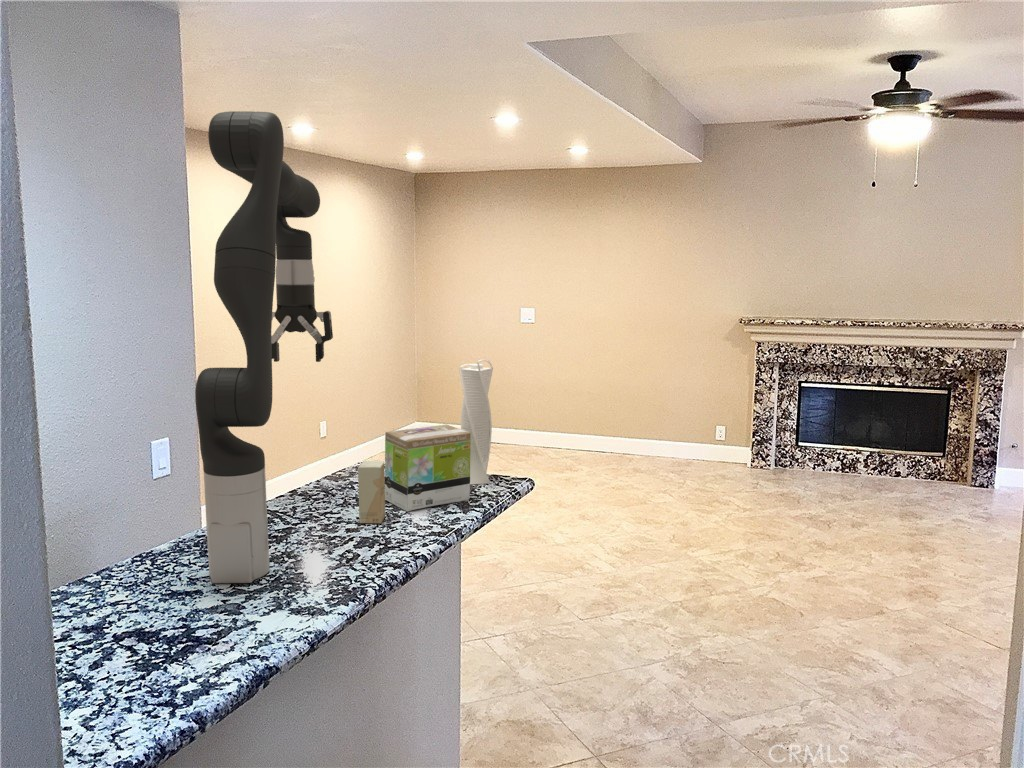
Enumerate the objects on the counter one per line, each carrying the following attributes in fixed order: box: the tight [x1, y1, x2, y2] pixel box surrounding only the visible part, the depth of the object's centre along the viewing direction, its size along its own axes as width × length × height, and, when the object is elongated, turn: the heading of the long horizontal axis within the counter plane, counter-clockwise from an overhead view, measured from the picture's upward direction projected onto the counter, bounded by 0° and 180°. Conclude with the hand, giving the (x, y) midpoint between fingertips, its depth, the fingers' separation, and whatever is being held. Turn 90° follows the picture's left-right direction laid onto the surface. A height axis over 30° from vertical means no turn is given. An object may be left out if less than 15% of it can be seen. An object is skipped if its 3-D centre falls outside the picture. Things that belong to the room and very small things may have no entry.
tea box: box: [384, 424, 471, 512], centre depth 171 cm, size 15×10×15 cm
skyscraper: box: [458, 358, 494, 486], centre depth 184 cm, size 8×8×28 cm
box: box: [357, 460, 386, 524], centre depth 159 cm, size 5×4×11 cm
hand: (297, 361), depth 171 cm, fingers open, 8 cm apart
